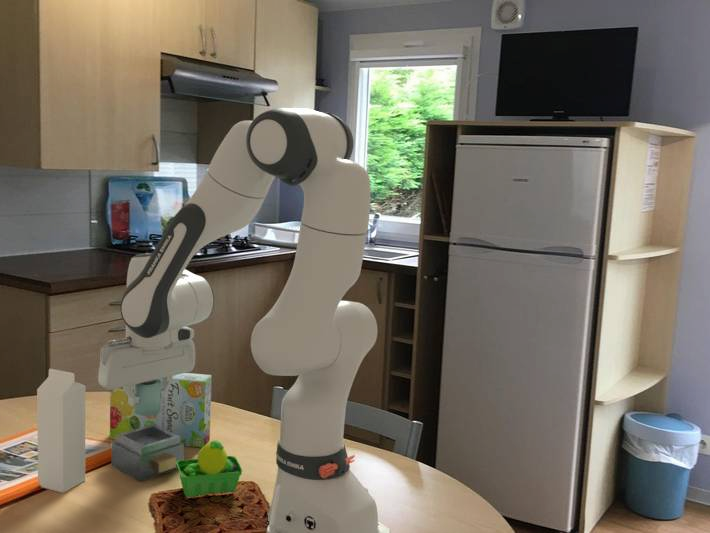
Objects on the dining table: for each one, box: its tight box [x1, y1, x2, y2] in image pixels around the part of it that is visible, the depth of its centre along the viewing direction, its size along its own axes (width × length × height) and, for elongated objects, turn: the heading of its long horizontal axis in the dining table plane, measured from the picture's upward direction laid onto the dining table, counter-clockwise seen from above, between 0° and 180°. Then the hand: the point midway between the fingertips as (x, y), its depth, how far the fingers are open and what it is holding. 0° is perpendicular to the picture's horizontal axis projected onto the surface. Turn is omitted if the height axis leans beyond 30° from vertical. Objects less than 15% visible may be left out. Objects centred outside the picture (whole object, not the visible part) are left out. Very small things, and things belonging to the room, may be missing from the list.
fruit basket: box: [176, 439, 243, 498], centre depth 139 cm, size 11×9×11 cm
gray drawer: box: [111, 424, 185, 483], centre depth 148 cm, size 12×10×6 cm
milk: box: [36, 368, 86, 494], centre depth 138 cm, size 6×6×22 cm
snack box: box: [109, 372, 213, 448], centre depth 162 cm, size 21×6×15 cm, turn 84°
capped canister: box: [134, 379, 161, 416], centre depth 147 cm, size 5×5×7 cm
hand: (147, 401), depth 147 cm, fingers closed on capped canister, 5 cm apart
